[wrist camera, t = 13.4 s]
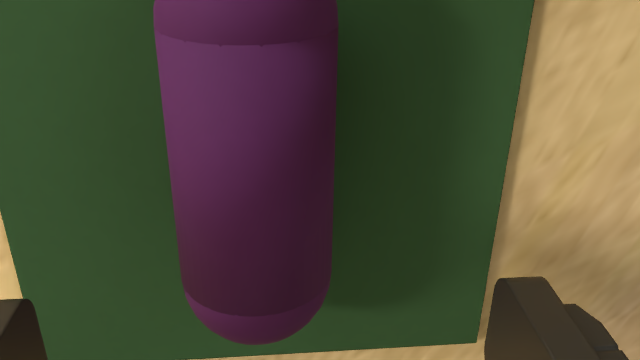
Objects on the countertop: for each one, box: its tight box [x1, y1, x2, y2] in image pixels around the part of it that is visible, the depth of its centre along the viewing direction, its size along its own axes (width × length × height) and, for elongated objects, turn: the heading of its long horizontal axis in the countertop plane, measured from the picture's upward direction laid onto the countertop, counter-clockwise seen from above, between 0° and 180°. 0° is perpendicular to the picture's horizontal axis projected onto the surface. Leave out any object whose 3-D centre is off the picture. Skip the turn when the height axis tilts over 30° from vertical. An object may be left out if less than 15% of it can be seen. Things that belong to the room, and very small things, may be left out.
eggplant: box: [153, 0, 339, 345], centre depth 16 cm, size 4×13×4 cm, turn 179°
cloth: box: [0, 0, 534, 360], centre depth 18 cm, size 16×18×1 cm
